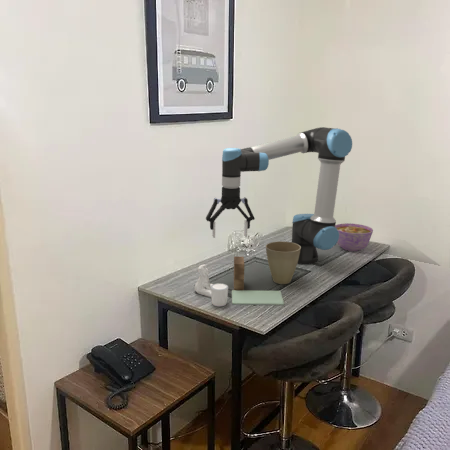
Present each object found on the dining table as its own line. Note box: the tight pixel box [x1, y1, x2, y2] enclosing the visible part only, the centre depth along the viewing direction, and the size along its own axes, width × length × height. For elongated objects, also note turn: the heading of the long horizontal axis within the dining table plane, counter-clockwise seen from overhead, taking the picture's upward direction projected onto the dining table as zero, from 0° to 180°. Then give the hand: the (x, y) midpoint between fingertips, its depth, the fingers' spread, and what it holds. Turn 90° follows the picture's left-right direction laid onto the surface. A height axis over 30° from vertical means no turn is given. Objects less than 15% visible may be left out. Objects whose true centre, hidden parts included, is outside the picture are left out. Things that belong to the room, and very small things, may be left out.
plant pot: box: [265, 240, 301, 285], centre depth 197 cm, size 15×15×16 cm
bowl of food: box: [335, 222, 374, 252], centre depth 241 cm, size 20×20×12 cm
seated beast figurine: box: [194, 264, 214, 298], centre depth 184 cm, size 10×9×12 cm
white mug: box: [210, 282, 229, 307], centre depth 175 cm, size 7×7×7 cm
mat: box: [231, 289, 285, 306], centre depth 181 cm, size 20×12×1 cm, turn 90°
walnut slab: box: [233, 256, 245, 290], centre depth 190 cm, size 4×9×12 cm, turn 0°
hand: (229, 236), depth 191 cm, fingers open, 13 cm apart
